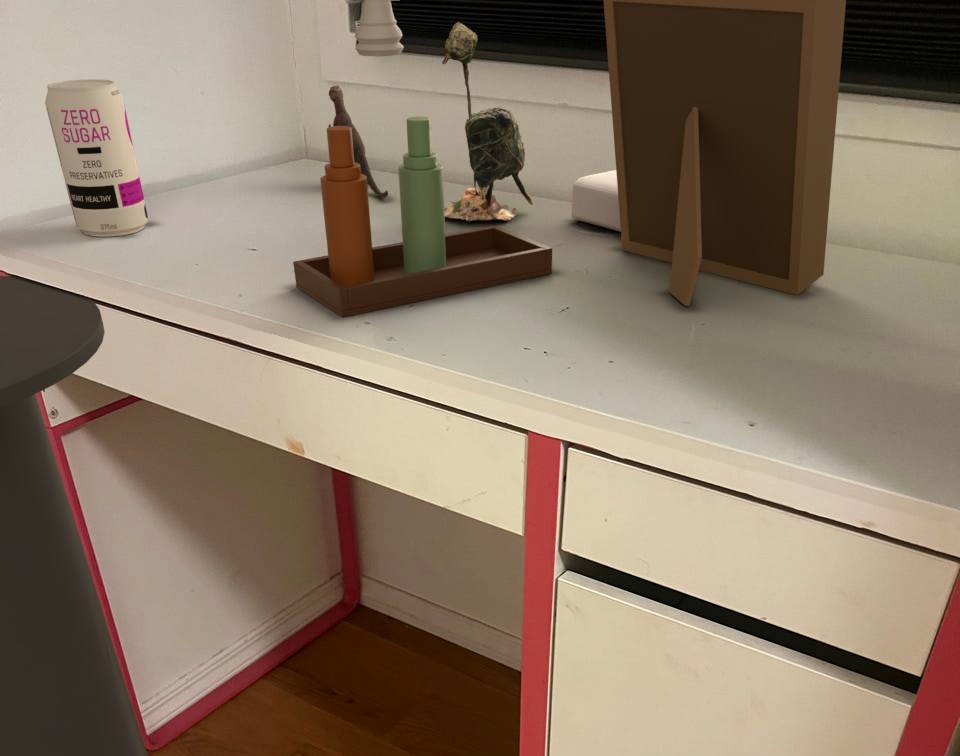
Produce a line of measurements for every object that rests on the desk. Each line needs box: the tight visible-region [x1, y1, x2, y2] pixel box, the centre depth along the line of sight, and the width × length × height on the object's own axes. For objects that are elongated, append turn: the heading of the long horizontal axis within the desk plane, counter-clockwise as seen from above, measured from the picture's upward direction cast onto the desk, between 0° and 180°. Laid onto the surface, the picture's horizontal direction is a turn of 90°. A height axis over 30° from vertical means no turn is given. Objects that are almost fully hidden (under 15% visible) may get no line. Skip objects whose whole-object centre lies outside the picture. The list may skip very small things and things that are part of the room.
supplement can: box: [44, 78, 149, 238], centre depth 109 cm, size 8×8×15 cm
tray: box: [292, 225, 553, 318], centre depth 95 cm, size 24×11×2 cm, turn 122°
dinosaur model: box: [327, 85, 389, 199], centre depth 123 cm, size 4×12×15 cm
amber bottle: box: [319, 125, 375, 286], centre depth 88 cm, size 4×4×14 cm
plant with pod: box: [441, 21, 534, 222], centre depth 109 cm, size 8×11×20 cm
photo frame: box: [603, 0, 847, 307], centre depth 88 cm, size 15×22×25 cm
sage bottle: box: [397, 116, 446, 274], centre depth 92 cm, size 4×4×14 cm
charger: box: [571, 169, 621, 233], centre depth 109 cm, size 5×9×15 cm
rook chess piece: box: [354, 0, 405, 57], centre depth 84 cm, size 4×4×8 cm
